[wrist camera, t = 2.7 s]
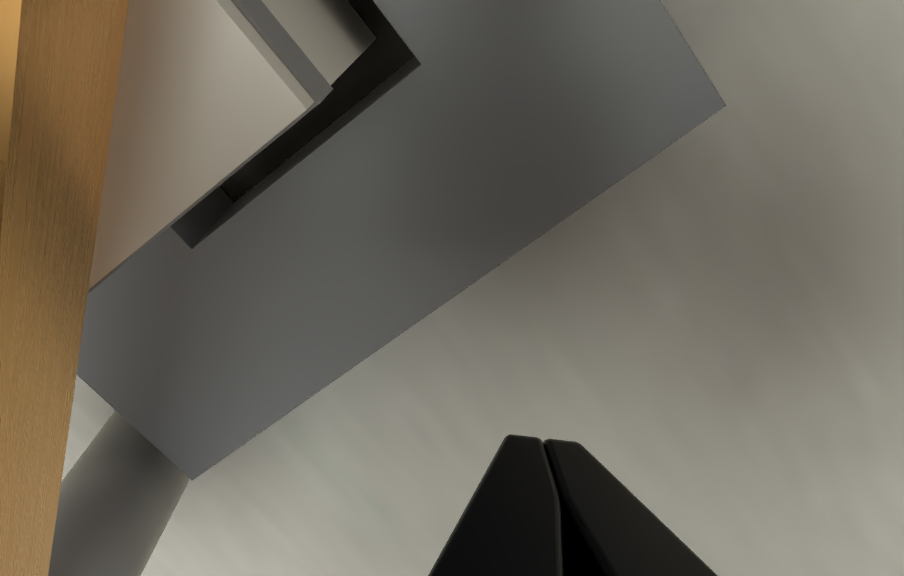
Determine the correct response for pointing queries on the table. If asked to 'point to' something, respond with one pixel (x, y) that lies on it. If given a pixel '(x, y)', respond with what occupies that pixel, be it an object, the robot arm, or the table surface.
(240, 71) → the plug
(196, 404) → the socket block
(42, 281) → the golden orange bar
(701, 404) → the table surface
